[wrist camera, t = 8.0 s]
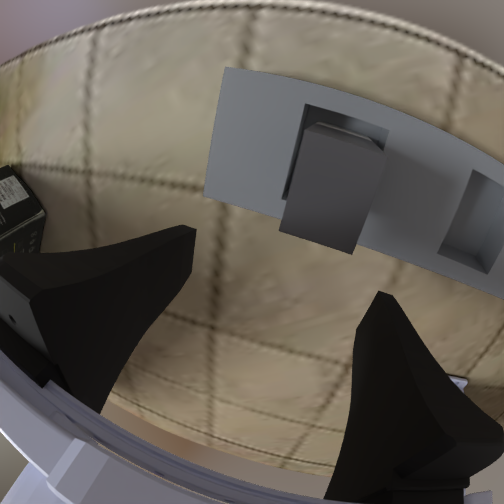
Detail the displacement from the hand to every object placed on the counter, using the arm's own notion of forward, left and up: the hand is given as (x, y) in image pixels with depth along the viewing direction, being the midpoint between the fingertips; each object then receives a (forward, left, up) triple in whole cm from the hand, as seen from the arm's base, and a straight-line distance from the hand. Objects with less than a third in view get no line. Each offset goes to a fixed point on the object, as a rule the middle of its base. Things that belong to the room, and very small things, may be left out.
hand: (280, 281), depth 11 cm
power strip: (-6, -3, -10) cm, 12 cm away
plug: (-1, -3, -9) cm, 10 cm away
